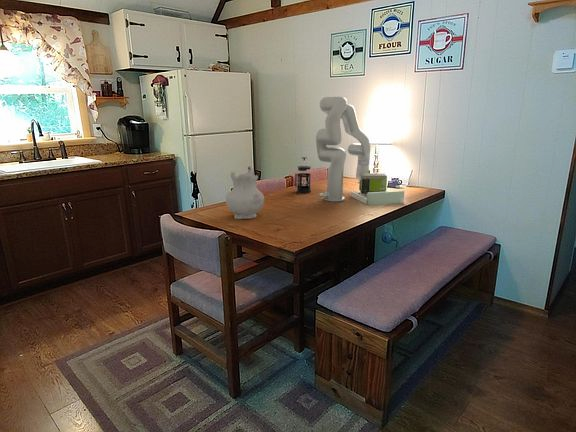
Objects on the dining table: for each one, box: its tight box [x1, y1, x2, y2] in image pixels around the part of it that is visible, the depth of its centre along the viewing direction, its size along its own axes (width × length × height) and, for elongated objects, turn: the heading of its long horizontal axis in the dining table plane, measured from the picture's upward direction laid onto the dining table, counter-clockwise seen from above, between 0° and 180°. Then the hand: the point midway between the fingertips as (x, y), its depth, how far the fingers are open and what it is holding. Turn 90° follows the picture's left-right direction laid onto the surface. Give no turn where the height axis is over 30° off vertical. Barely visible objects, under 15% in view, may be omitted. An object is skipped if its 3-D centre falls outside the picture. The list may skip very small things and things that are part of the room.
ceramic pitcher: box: [225, 166, 265, 220], centre depth 196 cm, size 22×20×25 cm
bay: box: [350, 190, 405, 206], centre depth 234 cm, size 23×24×7 cm
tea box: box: [359, 172, 388, 197], centre depth 237 cm, size 15×10×15 cm, turn 84°
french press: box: [294, 156, 312, 194], centre depth 252 cm, size 12×9×23 cm
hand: (361, 190), depth 253 cm, fingers closed
